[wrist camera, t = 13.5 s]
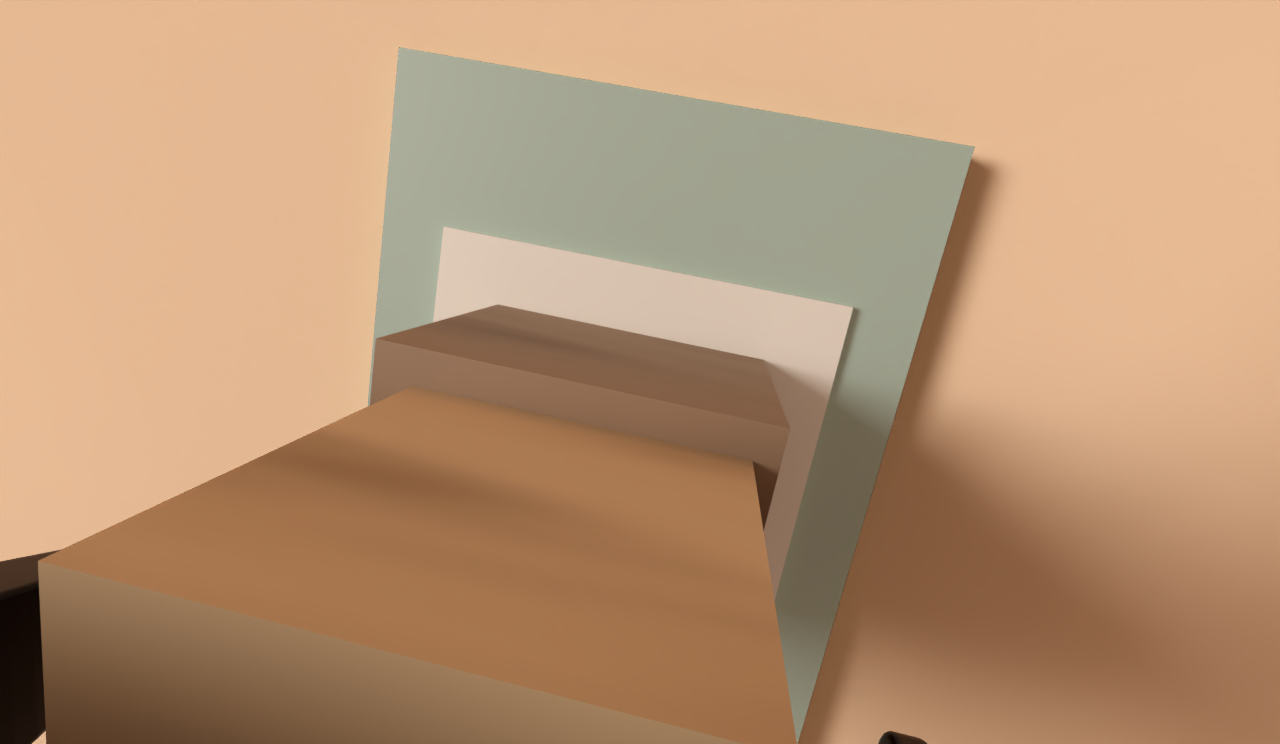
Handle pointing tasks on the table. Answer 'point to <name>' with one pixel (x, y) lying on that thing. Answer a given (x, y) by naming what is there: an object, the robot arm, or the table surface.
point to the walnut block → (596, 381)
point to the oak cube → (428, 594)
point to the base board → (686, 264)
